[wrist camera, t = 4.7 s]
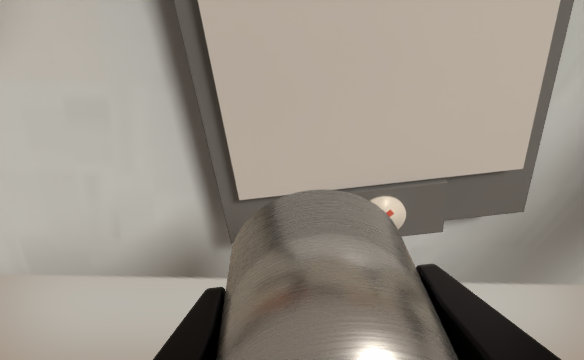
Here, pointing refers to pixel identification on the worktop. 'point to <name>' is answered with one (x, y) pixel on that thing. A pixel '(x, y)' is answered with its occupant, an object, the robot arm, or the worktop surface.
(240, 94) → the kitchen scale
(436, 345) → the cylinder
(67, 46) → the worktop surface
